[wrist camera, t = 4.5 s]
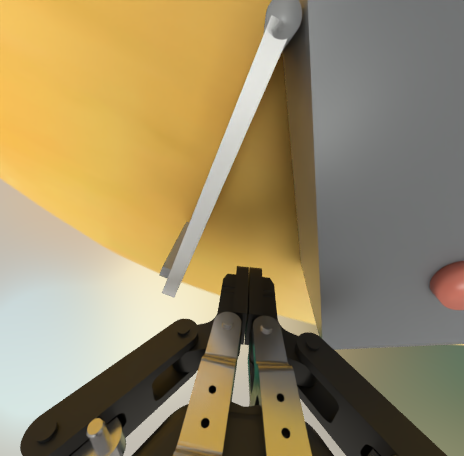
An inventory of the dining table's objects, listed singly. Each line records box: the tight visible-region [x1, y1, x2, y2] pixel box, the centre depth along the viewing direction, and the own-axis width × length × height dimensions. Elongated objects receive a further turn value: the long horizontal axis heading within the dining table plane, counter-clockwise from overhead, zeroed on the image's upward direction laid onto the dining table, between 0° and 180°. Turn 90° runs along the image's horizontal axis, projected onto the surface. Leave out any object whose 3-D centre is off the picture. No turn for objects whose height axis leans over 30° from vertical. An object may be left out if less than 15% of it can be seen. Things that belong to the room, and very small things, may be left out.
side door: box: [160, 0, 302, 297], centre depth 15 cm, size 15×2×8 cm, turn 157°
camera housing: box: [282, 0, 464, 350], centre depth 13 cm, size 20×10×10 cm, turn 12°
